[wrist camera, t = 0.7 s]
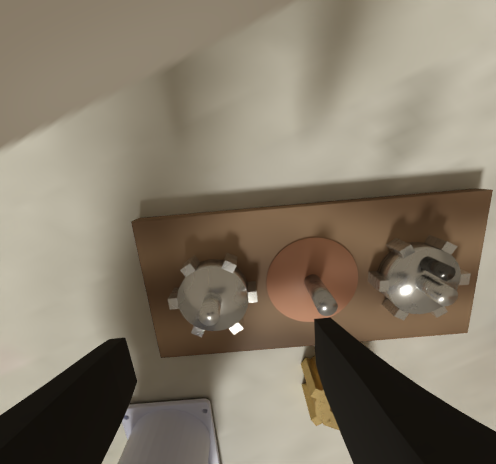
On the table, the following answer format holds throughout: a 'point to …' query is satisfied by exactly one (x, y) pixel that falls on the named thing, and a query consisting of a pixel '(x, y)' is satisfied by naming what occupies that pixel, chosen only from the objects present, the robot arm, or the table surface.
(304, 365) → the wooden gear
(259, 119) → the table surface
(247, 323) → the gear board
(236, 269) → the mounted gears
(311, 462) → the table surface
